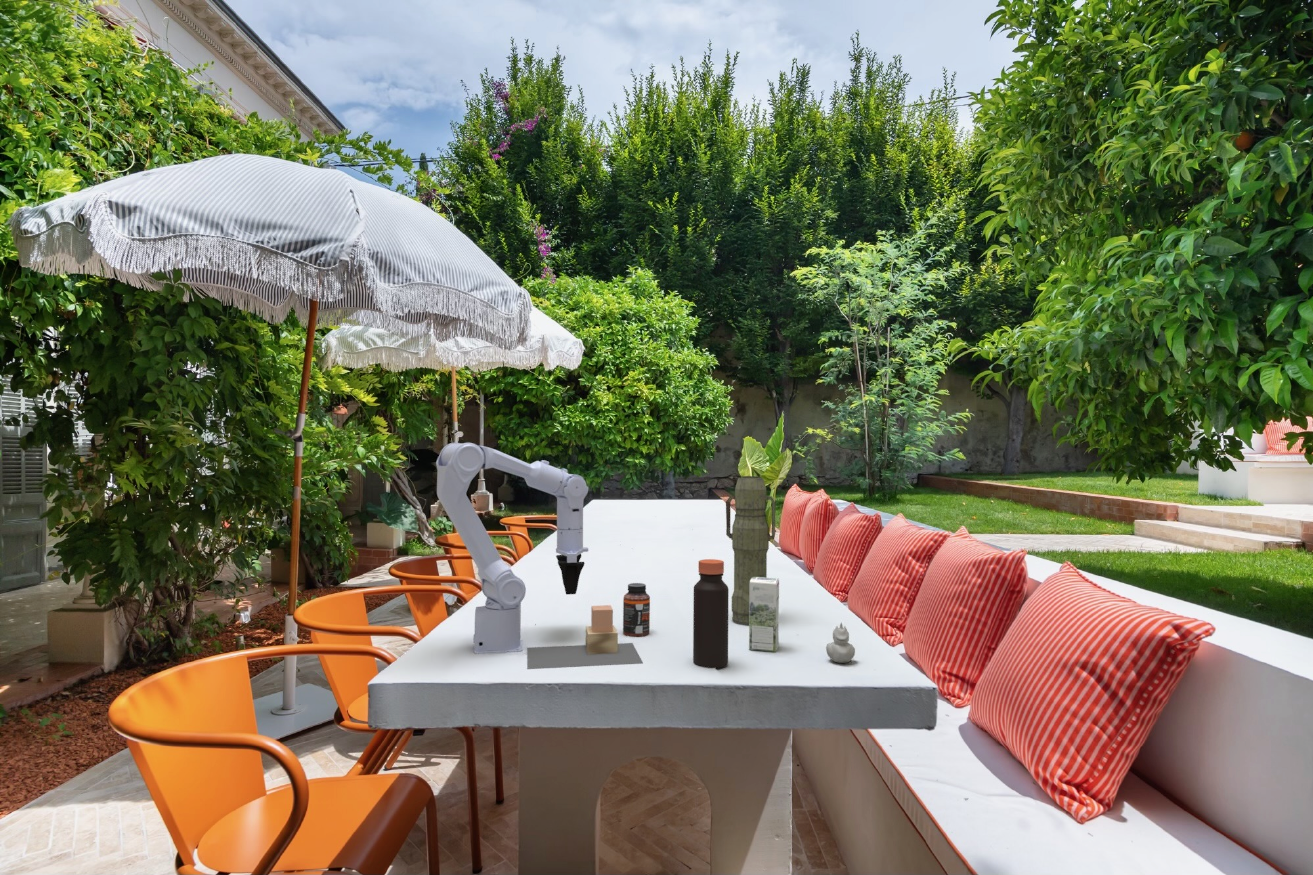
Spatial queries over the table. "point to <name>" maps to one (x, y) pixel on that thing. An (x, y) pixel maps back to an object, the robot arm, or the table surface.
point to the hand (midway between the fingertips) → (569, 590)
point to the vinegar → (710, 616)
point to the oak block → (601, 641)
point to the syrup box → (763, 614)
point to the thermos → (748, 540)
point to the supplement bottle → (636, 611)
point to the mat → (579, 656)
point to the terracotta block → (602, 618)
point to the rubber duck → (840, 646)
